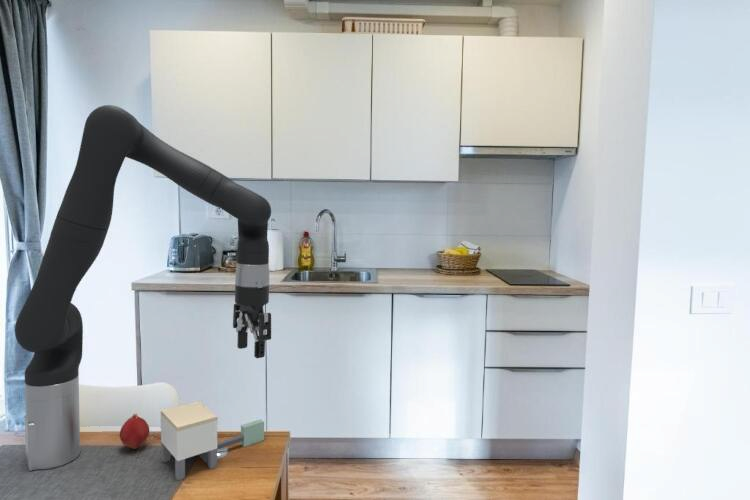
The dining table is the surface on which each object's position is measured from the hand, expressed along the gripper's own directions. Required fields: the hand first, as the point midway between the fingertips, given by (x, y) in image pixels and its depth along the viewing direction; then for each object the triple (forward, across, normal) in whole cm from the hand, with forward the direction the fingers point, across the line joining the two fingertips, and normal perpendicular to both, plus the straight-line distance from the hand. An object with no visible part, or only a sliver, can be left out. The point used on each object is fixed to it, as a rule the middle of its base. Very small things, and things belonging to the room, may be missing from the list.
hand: (250, 352), depth 107 cm
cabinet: (+21, +2, -14) cm, 25 cm away
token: (+21, +2, -8) cm, 23 cm away
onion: (+21, -12, -22) cm, 32 cm away
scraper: (+21, +2, -4) cm, 21 cm away
